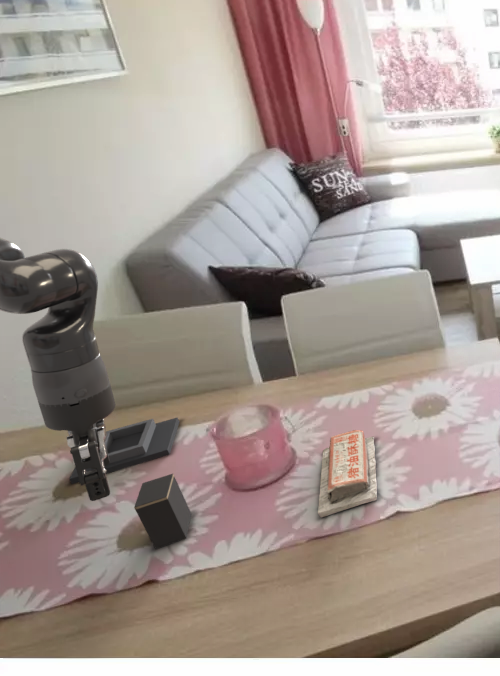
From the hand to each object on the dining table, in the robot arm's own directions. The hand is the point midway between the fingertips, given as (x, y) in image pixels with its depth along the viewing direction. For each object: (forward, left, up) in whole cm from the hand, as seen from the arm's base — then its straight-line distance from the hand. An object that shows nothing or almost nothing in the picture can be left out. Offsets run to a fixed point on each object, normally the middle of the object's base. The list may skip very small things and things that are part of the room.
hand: (100, 481), depth 81 cm
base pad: (-3, +38, -19) cm, 42 cm away
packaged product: (+32, -1, -19) cm, 37 cm away
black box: (+4, +6, -19) cm, 20 cm away
